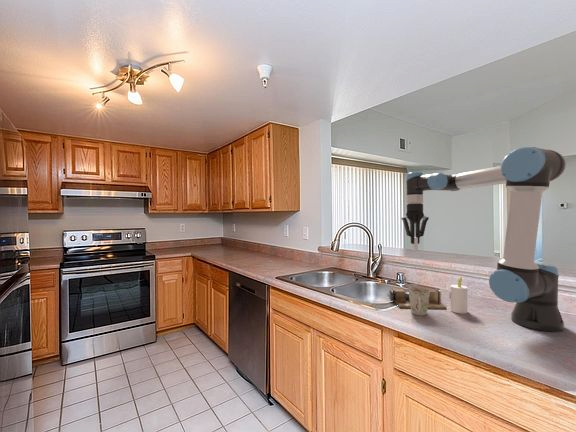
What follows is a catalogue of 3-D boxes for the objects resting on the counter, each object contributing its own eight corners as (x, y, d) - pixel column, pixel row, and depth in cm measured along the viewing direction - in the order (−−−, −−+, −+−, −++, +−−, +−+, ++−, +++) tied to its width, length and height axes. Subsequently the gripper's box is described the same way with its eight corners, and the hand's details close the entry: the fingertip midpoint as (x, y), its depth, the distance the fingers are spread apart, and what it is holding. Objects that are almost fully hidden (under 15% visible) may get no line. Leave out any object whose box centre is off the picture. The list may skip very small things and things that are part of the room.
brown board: (449, 309, 126) (449, 296, 126) (399, 308, 127) (399, 296, 127) (429, 295, 146) (429, 285, 145) (387, 295, 147) (387, 284, 147)
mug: (428, 310, 124) (428, 287, 124) (432, 321, 112) (432, 295, 112) (407, 308, 126) (407, 286, 126) (409, 318, 115) (409, 293, 114)
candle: (450, 307, 128) (450, 273, 128) (467, 310, 124) (468, 275, 124) (448, 311, 123) (449, 276, 123) (466, 314, 119) (466, 278, 119)
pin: (438, 303, 133) (438, 292, 133) (391, 302, 135) (392, 292, 135) (434, 299, 138) (434, 289, 138) (389, 299, 140) (389, 289, 139)
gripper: (424, 203, 148) (425, 249, 148) (399, 203, 148) (399, 249, 148) (431, 203, 140) (431, 251, 140) (404, 203, 141) (404, 251, 141)
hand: (415, 250), depth 144 cm, fingers closed
